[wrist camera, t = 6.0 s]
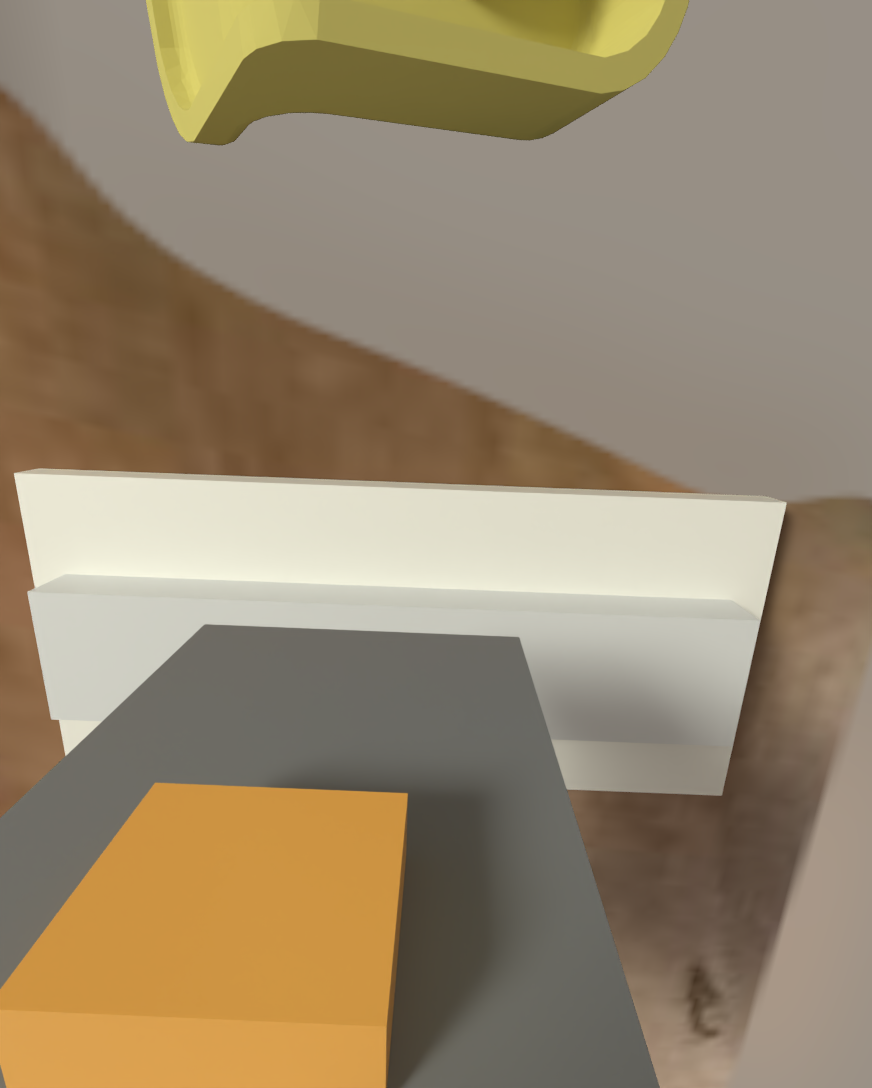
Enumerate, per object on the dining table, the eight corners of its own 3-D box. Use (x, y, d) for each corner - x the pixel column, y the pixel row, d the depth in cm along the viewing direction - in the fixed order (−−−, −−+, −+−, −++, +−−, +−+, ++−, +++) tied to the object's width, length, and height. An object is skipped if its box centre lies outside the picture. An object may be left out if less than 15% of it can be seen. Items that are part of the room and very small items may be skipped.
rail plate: (707, 775, 19) (746, 831, 16) (87, 749, 19) (34, 802, 16) (765, 496, 16) (823, 514, 14) (39, 468, 16) (-32, 481, 14)
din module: (487, 1004, 11) (564, 2088, 4) (237, 992, 11) (-132, 2054, 4) (522, 601, 8) (886, 1554, 1) (201, 588, 8) (-913, 1468, 1)
